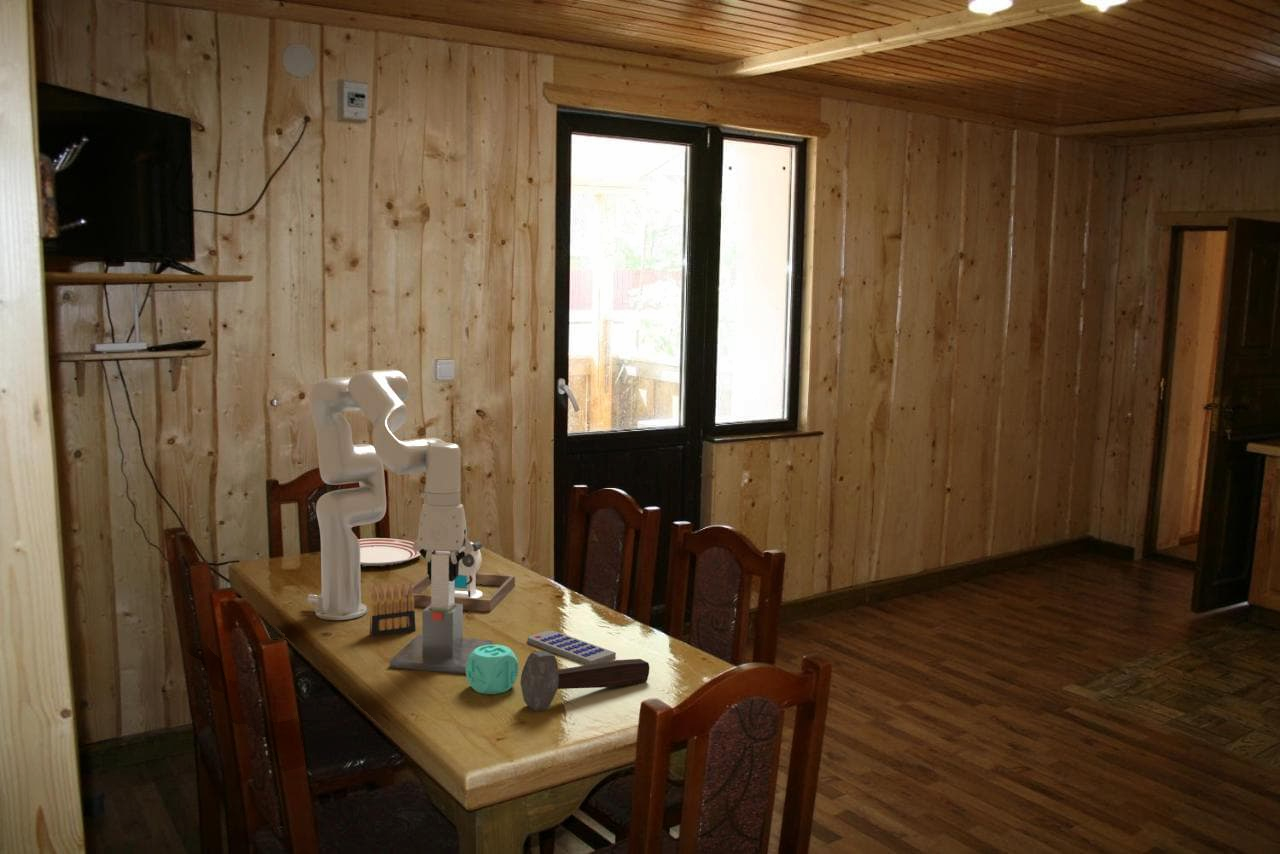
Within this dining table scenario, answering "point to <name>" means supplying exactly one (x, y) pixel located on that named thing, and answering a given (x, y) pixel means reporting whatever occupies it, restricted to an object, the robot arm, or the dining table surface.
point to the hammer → (575, 677)
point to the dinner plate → (385, 551)
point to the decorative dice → (492, 669)
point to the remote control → (571, 647)
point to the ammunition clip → (392, 612)
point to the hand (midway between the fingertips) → (442, 578)
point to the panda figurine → (468, 573)
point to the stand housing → (439, 644)
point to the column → (441, 582)
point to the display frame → (468, 603)
